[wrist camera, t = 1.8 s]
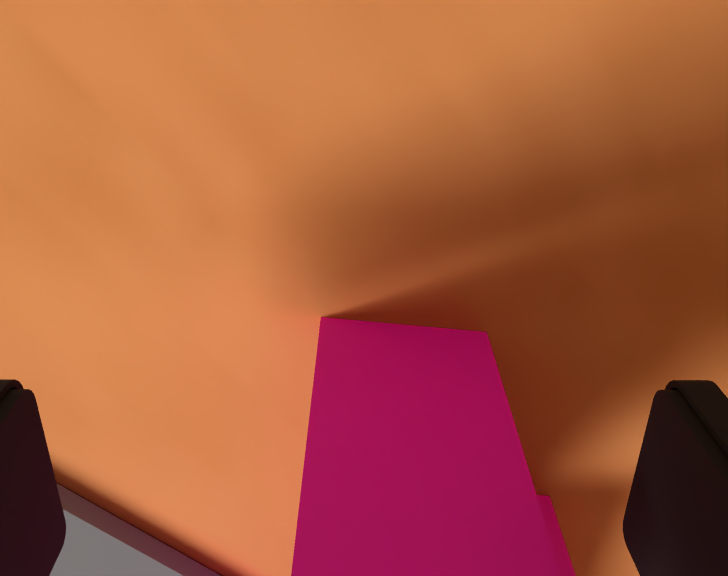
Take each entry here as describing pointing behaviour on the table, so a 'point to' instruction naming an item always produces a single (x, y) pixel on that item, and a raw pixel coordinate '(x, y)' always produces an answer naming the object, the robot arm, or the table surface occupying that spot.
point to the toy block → (417, 461)
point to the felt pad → (114, 546)
